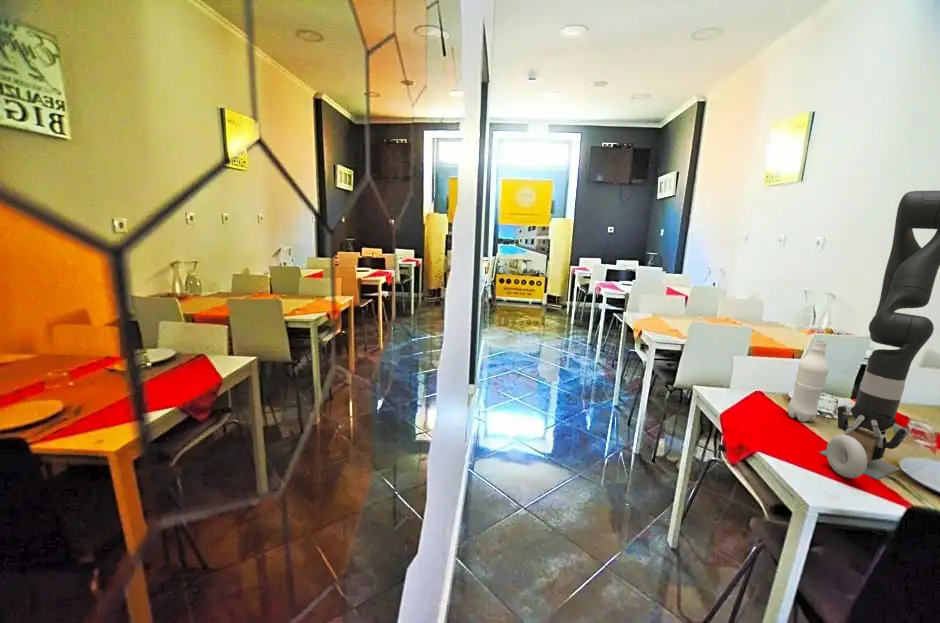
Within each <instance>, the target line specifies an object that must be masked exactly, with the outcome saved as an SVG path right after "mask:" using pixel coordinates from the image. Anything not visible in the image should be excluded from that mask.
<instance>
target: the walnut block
mask: <svg viewBox="0 0 940 623" xmlns="http://www.w3.org/2000/svg"><path fill="white" fill-rule="evenodd" d="M849 436H851V437H853V438H855V439H856V440H857V441H858V442H859V443H860V444H861V445H862V447H863V448H864V450H865V453H866V455H867V463H868V462H871V461H873V459H872V456H873V452H874V449H875V446H877V444H876V443H877V440H876V438H875V437H874V432H872V431H870V430H867V429H865V428H859V429H856V430H855V431H853V430H852V431H850V433H849ZM845 453H847V452H846V450H845Z"/></svg>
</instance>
